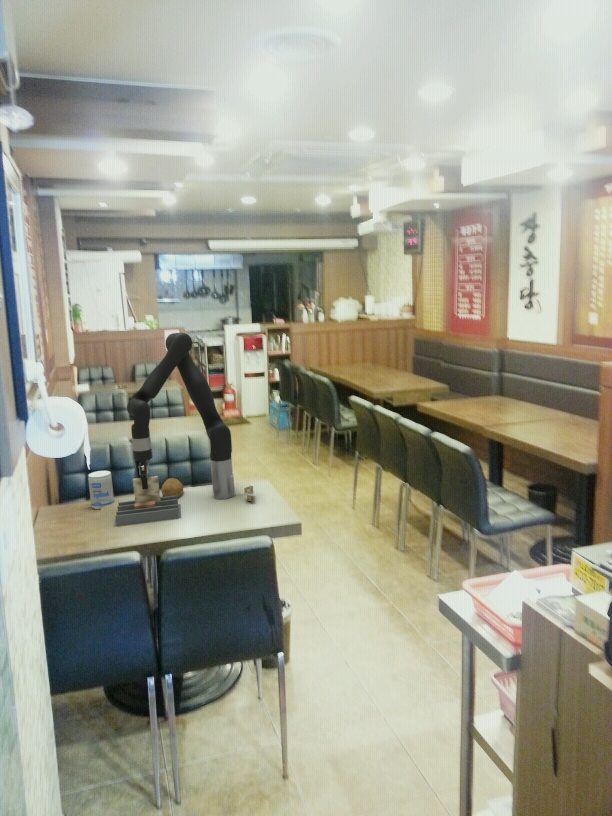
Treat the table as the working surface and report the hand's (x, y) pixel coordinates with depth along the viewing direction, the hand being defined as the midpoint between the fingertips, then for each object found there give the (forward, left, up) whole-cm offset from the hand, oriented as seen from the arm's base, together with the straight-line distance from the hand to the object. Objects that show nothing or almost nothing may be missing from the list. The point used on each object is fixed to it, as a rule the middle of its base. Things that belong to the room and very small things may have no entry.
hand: (145, 485), depth 257 cm
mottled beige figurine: (-42, -1, -13) cm, 44 cm away
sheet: (0, 0, -11) cm, 11 cm away
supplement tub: (+20, -17, -12) cm, 29 cm away
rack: (0, +6, -12) cm, 13 cm away
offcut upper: (+1, +6, -8) cm, 10 cm away
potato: (-10, -16, -12) cm, 22 cm away
